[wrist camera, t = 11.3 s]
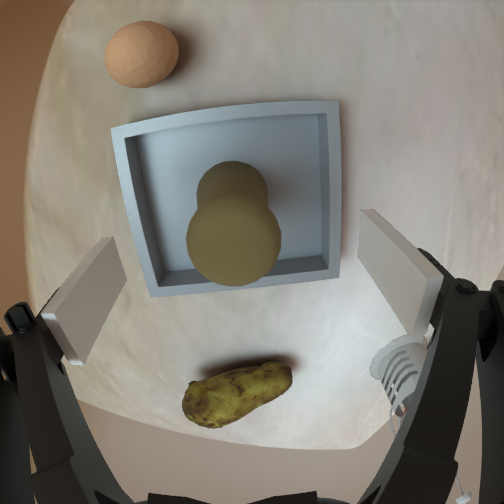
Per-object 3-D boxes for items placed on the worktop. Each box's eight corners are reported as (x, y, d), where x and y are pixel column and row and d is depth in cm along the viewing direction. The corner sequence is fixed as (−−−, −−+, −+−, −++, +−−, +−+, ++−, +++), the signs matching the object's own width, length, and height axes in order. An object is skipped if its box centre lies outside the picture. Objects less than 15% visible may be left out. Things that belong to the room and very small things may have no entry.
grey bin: (325, 102, 22) (338, 100, 19) (328, 259, 29) (339, 277, 25) (126, 126, 22) (110, 128, 19) (158, 277, 29) (150, 297, 25)
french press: (438, 333, 35) (517, 467, 13) (402, 385, 40) (454, 509, 18) (388, 332, 34) (470, 500, 12) (353, 388, 39) (399, 534, 17)
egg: (171, 23, 18) (149, -5, 12) (195, 72, 20) (179, 56, 14) (115, 53, 19) (78, 38, 12) (137, 102, 21) (103, 100, 15)
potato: (279, 391, 38) (286, 438, 31) (187, 385, 36) (181, 434, 29) (293, 351, 34) (304, 404, 27) (186, 344, 33) (177, 398, 26)
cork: (280, 179, 24) (316, 225, 14) (249, 239, 26) (261, 317, 16) (213, 148, 23) (201, 174, 13) (185, 213, 25) (158, 281, 15)
